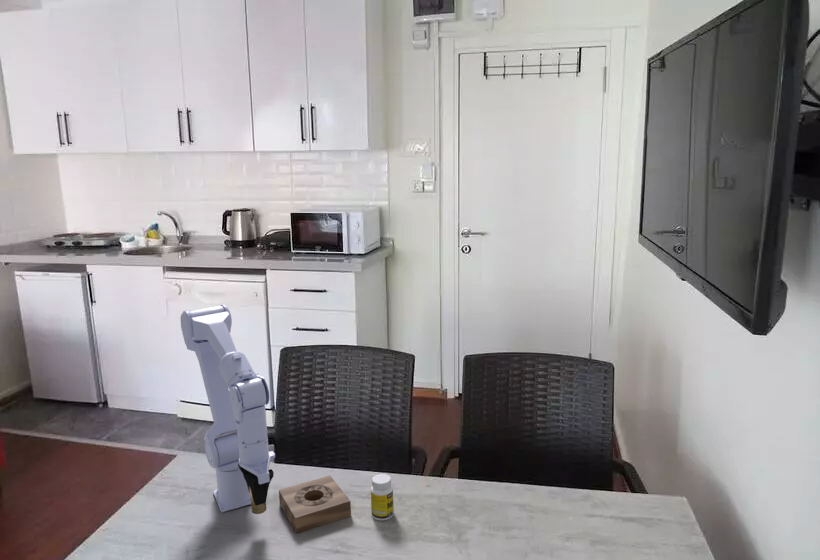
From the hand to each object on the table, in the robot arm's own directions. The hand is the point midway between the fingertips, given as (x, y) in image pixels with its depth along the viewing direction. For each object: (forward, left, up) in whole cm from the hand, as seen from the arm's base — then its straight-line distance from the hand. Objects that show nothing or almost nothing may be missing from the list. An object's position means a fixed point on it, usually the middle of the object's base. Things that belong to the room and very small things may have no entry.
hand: (258, 499), depth 122 cm
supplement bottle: (+8, +24, -7) cm, 26 cm away
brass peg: (0, 0, -2) cm, 2 cm away
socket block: (-1, +12, -7) cm, 14 cm away
